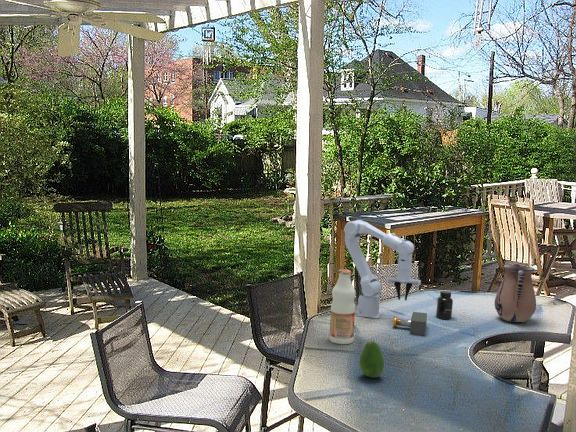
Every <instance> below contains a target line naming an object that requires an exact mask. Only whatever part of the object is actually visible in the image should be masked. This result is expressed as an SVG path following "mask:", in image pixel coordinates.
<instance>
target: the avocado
mask: <svg viewBox="0 0 576 432" xmlns="http://www.w3.org/2000/svg"><path fill="white" fill-rule="evenodd" d="M384 367H385V360H384V357H383V353H382V351H381V348H380V346H379V344H378V343H377V342H375V341H372V340H371V341H368V342H366V343H365V345H364V348H363V349H362V352H361V354H360V357H359V368H360V370H361V373H362V374H363V375H364V376H366V377H367V378H374V379H375V378H378V377H379V376H381V375H382V373H383V371H384Z"/></svg>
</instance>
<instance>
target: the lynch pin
mask: <svg viewBox="0 0 576 432" xmlns="http://www.w3.org/2000/svg"><path fill="white" fill-rule="evenodd" d="M410 324H411V319H403V318H398V316H393V318H392V327H395V328H396V327H397V326H401V327H406V328H407V327H409V328H410Z"/></svg>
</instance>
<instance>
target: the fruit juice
mask: <svg viewBox="0 0 576 432" xmlns="http://www.w3.org/2000/svg"><path fill="white" fill-rule="evenodd" d="M337 272H338V277H337V278H338V279H337V282H336V283H335V285H334V287H333V288H332V291H331V296H332V301H331V305H330V317H329V337H328V338H329V340H330V342H331V343H334V344H338V345H349V344H352V343H353V342H354V337H355V336H354V335H355V319H356V318H355V317H356V304H355V299H356V289H355V287H354V286H353V283H352V279H351V275H352V270H350V269H346V268H345V269H344V268H342V269H338V271H337Z"/></svg>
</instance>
